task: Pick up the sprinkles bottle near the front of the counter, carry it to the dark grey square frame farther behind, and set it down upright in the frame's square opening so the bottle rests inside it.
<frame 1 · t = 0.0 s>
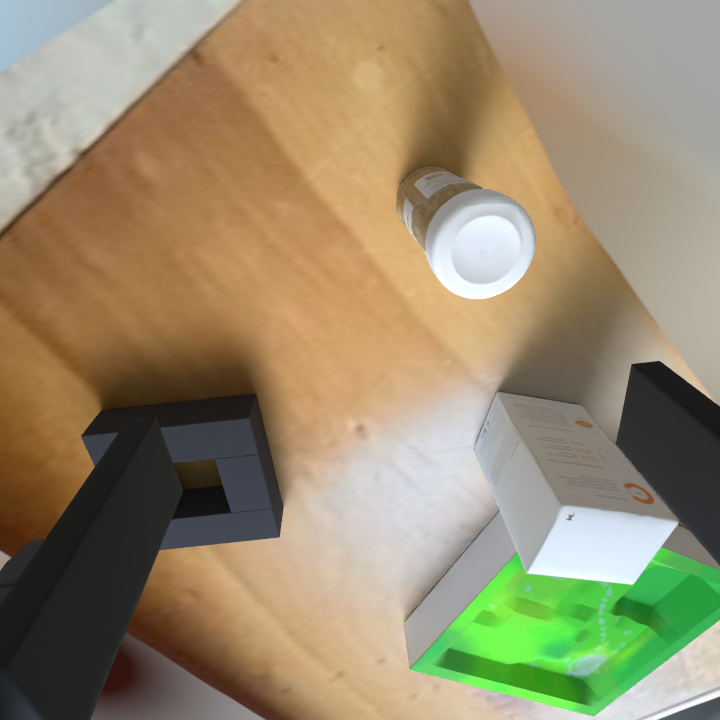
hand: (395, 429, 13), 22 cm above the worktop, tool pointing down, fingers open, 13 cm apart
tray: (557, 583, 51), on the worktop
sprinkles bottle: (428, 200, 32), on the worktop
dark grey square frame: (198, 462, 41), on the worktop
small box: (525, 425, 41), on the worktop
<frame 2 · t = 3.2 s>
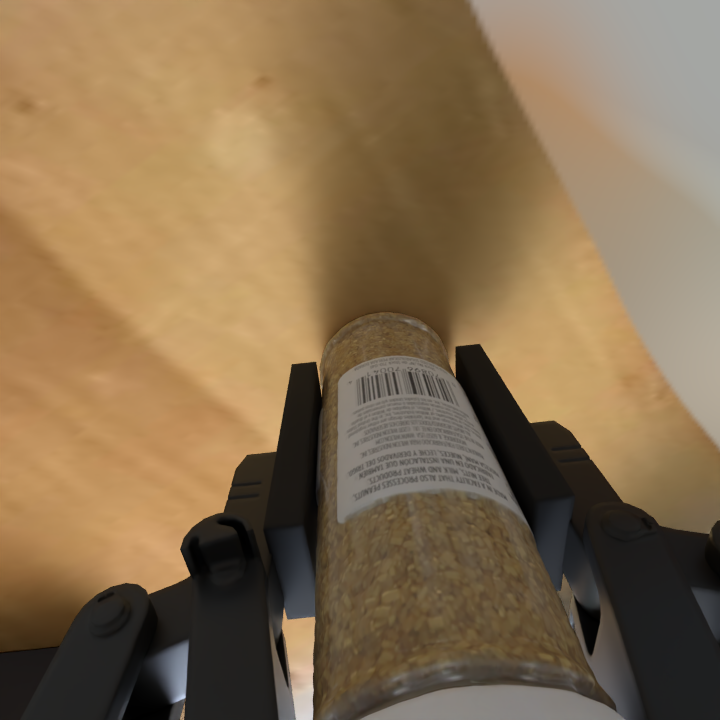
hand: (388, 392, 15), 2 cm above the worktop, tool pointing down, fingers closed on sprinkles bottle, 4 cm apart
sprinkles bottle: (384, 364, 17), on the worktop, touching gripper
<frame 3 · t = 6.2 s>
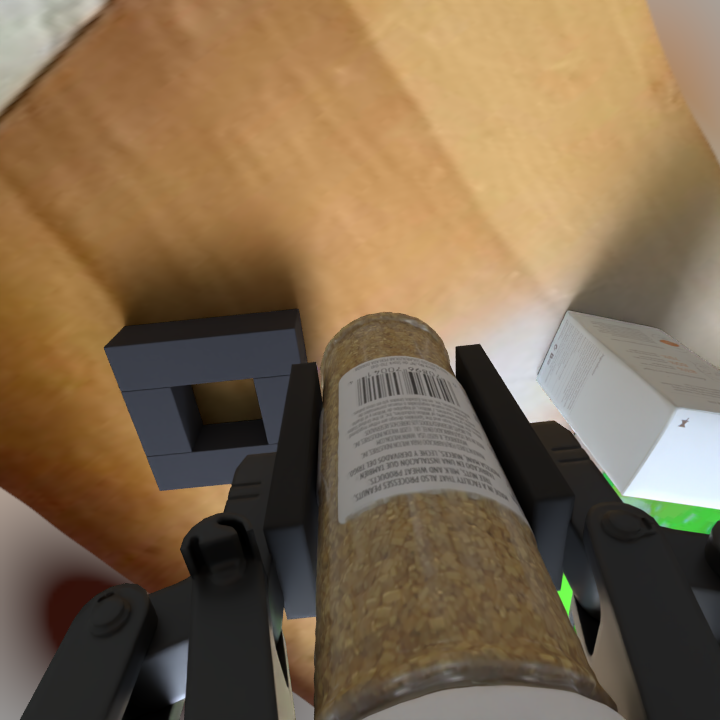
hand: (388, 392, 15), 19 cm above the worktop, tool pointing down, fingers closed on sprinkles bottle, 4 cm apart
tray: (612, 540, 47), on the worktop
sprinkles bottle: (385, 364, 17), point 17 cm above the worktop, touching gripper
dark grey square frame: (230, 391, 37), on the worktop
small box: (594, 353, 37), on the worktop
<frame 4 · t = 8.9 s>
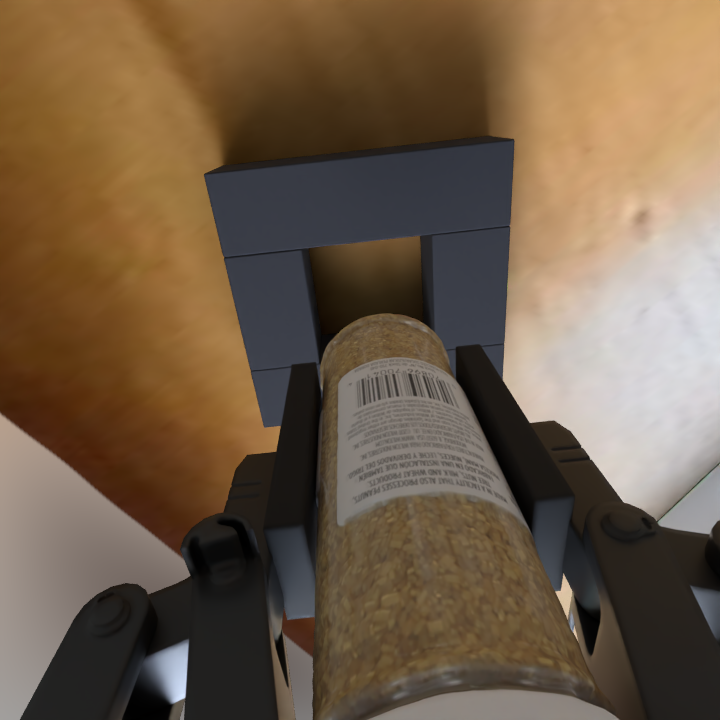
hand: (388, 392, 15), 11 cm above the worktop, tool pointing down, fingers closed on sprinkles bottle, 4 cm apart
sprinkles bottle: (384, 365, 17), point 10 cm above the worktop, touching gripper
dark grey square frame: (367, 280, 25), on the worktop
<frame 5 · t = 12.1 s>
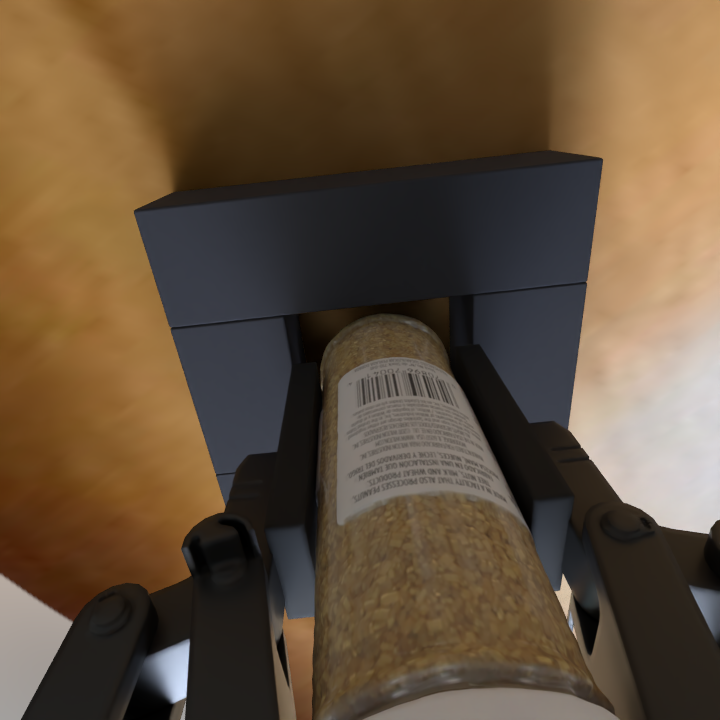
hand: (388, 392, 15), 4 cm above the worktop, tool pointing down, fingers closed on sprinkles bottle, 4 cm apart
sprinkles bottle: (384, 365, 17), point 2 cm above the worktop, touching gripper
dark grey square frame: (376, 342, 19), on the worktop
when the fingers open (5 cm above the worktop, at t = 14.6 s): sprinkles bottle drops 3 cm, resting in dark grey square frame.
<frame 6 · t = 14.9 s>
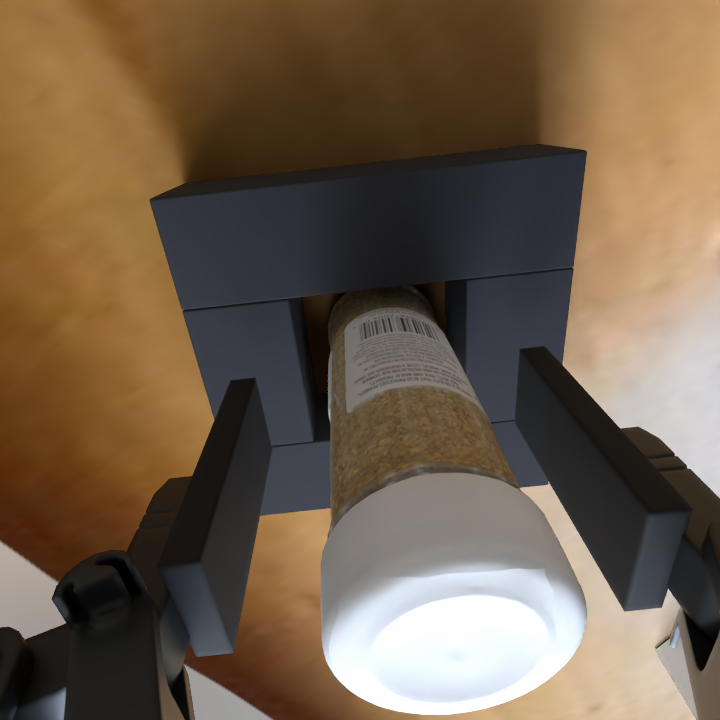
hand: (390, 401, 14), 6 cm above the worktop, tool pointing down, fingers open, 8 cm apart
sprinkles bottle: (382, 325, 20), resting in dark grey square frame
dark grey square frame: (376, 327, 20), on the worktop
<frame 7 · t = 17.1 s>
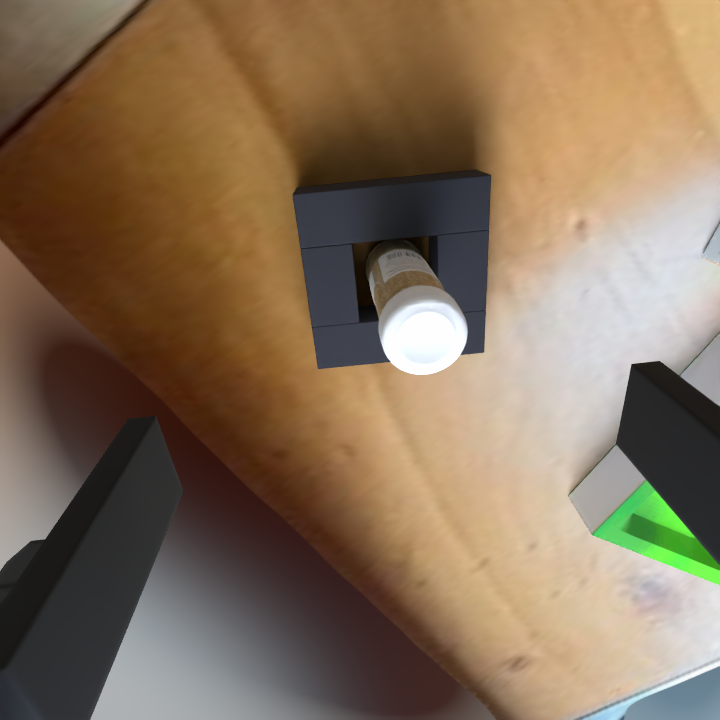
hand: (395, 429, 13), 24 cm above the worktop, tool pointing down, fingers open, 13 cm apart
sprinkles bottle: (394, 265, 36), resting in dark grey square frame
dark grey square frame: (391, 266, 36), on the worktop
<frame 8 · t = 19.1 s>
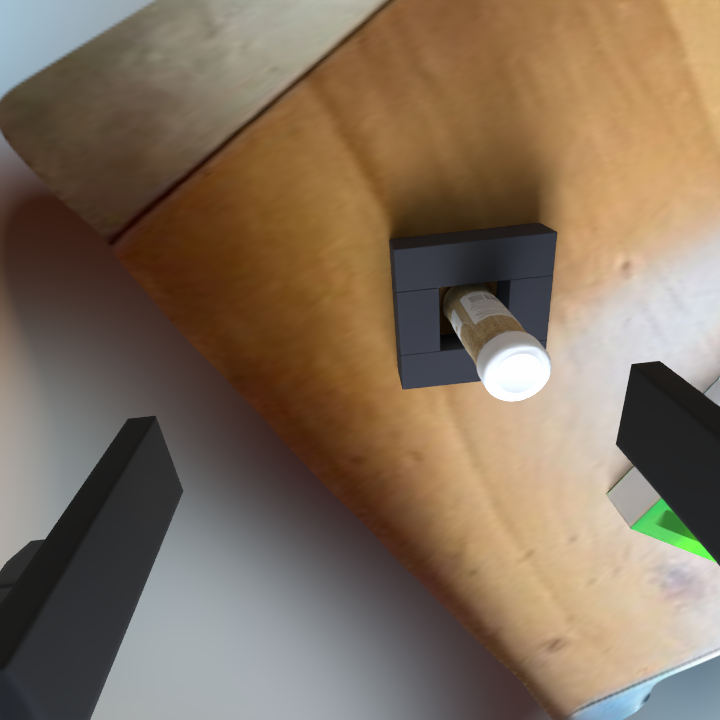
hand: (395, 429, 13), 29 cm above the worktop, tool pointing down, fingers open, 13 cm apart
sprinkles bottle: (466, 300, 42), resting in dark grey square frame
dark grey square frame: (464, 302, 42), on the worktop
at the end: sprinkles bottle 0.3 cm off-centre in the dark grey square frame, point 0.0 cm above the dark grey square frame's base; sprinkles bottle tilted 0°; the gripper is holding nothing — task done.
